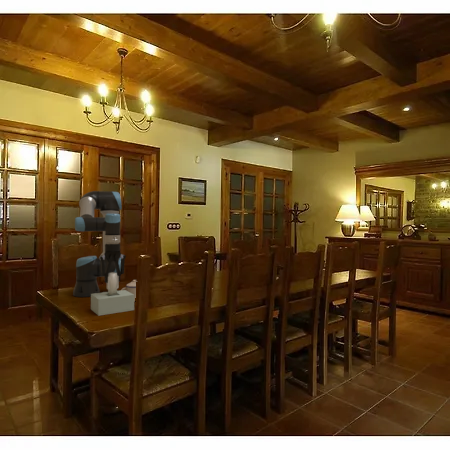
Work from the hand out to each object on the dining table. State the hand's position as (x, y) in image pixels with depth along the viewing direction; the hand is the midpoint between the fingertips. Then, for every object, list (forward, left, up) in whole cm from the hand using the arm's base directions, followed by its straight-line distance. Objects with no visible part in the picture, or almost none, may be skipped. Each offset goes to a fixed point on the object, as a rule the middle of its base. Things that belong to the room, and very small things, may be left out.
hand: (112, 288), depth 176 cm
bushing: (0, 0, -3) cm, 3 cm away
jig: (0, 0, -11) cm, 11 cm away
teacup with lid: (-14, +16, -11) cm, 24 cm away
